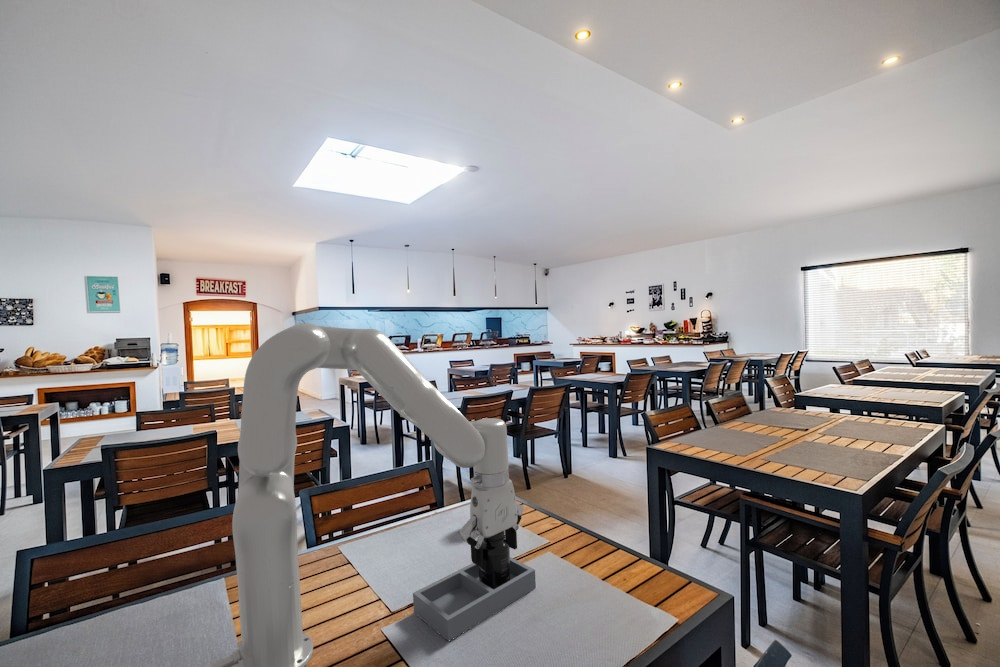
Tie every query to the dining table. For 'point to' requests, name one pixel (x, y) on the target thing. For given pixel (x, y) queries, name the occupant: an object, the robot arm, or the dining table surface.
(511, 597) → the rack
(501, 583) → the supplement bottle
